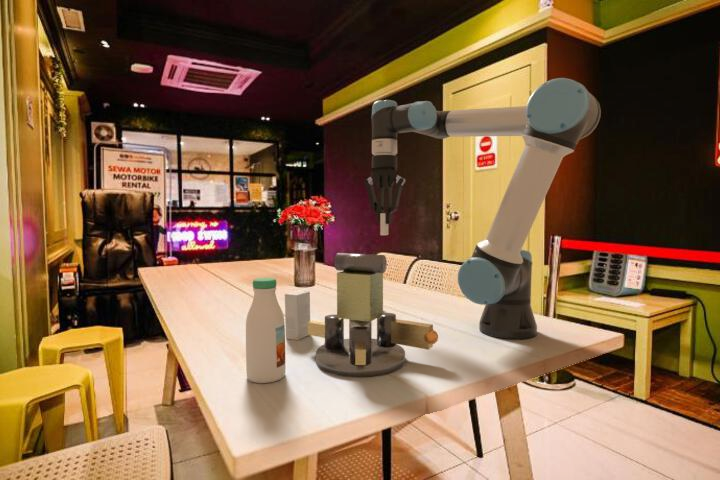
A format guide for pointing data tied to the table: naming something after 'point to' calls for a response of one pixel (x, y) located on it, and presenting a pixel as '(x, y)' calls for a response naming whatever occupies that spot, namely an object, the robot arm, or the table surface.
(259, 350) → the milk bottle
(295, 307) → the skincare box
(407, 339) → the knob lever
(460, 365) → the table surface
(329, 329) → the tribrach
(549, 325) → the table surface
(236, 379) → the table surface
